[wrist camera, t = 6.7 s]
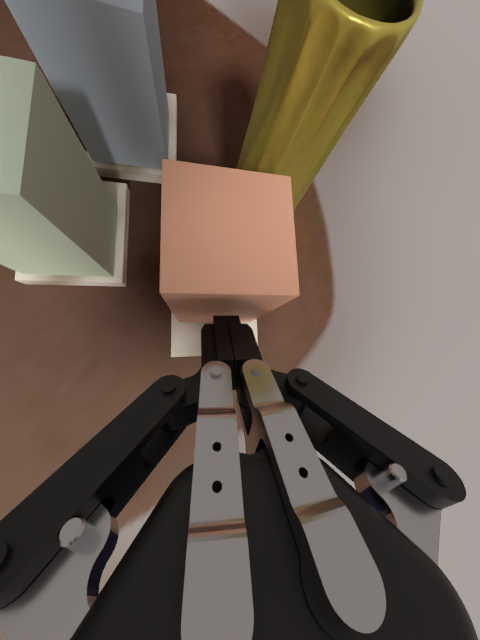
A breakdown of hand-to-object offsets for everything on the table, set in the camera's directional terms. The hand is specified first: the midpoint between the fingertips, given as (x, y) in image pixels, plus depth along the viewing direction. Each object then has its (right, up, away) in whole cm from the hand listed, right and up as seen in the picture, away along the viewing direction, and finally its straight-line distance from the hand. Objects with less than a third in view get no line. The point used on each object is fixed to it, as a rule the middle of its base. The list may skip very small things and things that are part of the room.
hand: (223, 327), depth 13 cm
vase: (+2, +11, +9) cm, 14 cm away
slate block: (-8, +17, +6) cm, 20 cm away
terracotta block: (-1, +3, +5) cm, 6 cm away
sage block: (-12, +7, +4) cm, 14 cm away
